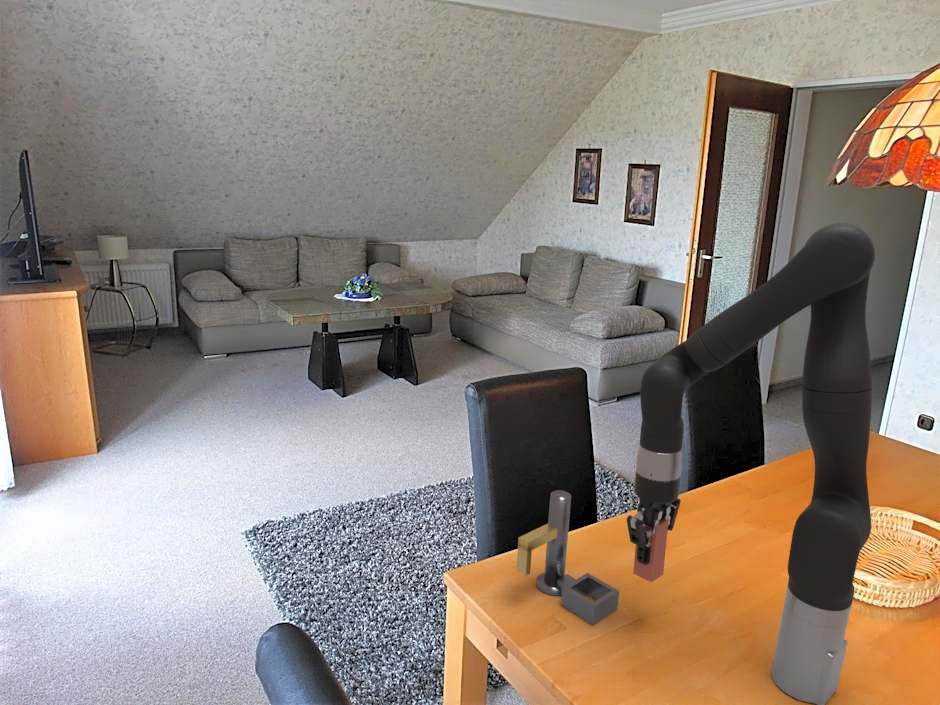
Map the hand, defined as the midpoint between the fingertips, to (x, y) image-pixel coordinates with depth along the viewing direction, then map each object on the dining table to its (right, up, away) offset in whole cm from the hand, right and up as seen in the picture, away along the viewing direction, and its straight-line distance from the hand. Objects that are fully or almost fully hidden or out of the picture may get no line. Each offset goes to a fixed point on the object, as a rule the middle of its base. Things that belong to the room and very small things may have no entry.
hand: (650, 557), depth 121 cm
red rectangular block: (0, -3, +1) cm, 3 cm away
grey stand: (-15, -11, +9) cm, 21 cm away
